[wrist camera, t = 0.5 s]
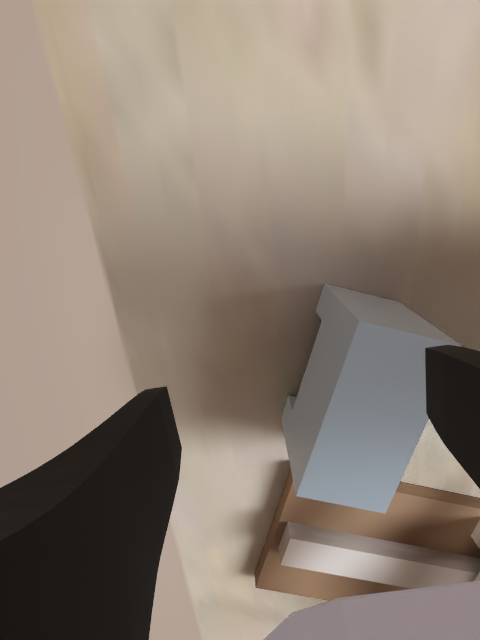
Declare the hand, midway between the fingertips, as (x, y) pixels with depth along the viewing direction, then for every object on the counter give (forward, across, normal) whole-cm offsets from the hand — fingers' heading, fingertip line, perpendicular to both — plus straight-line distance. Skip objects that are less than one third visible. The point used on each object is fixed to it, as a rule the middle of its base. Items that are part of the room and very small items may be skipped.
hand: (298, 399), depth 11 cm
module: (+10, -3, +4) cm, 11 cm away
